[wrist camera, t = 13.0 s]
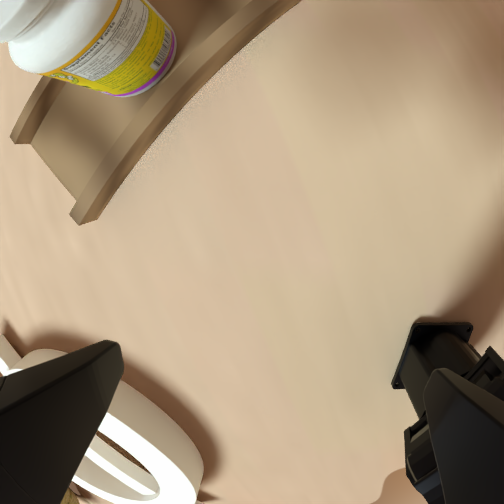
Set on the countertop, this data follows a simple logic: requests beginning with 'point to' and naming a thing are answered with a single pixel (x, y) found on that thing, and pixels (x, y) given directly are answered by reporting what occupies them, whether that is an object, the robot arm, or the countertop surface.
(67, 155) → the oak track
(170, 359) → the countertop surface
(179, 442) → the ring with crossbar
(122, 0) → the supplement bottle
